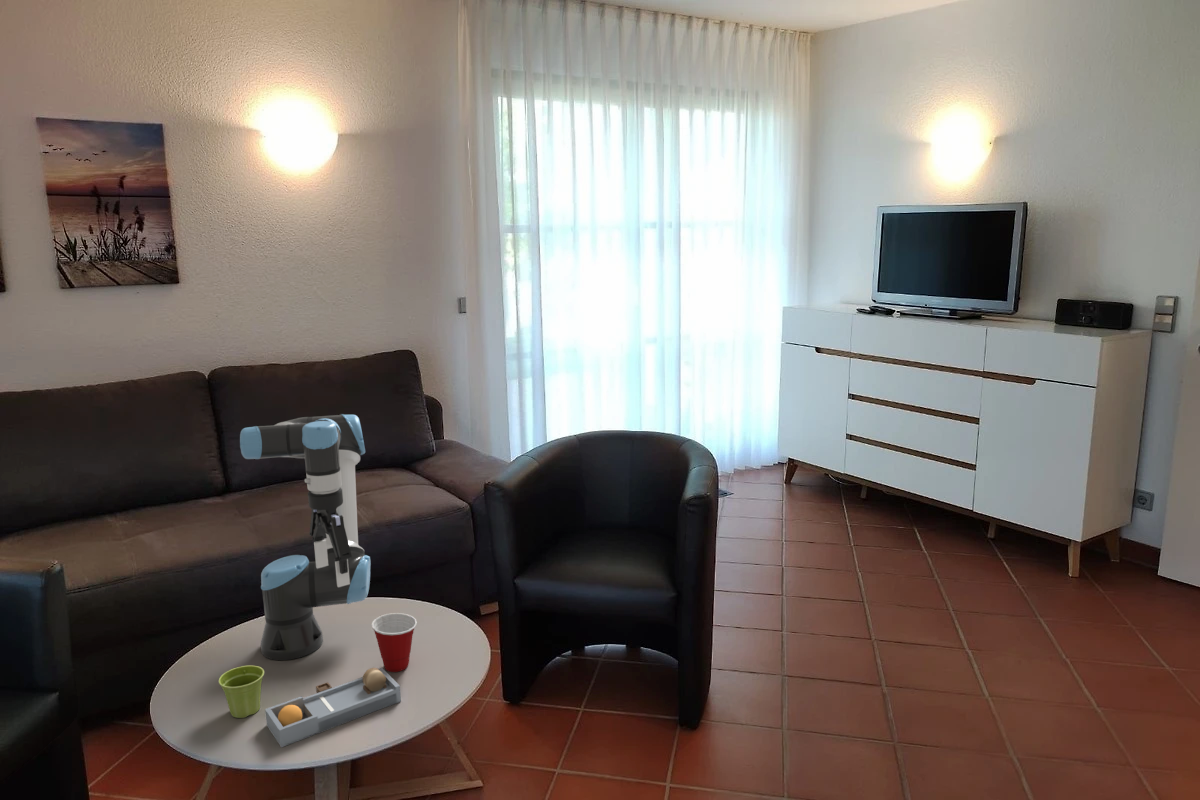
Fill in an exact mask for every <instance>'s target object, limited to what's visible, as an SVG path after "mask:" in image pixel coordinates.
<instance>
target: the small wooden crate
mask: <svg viewBox="0 0 1200 800" xmlns="http://www.w3.org/2000/svg"><path fill="white" fill-rule="evenodd" d="M330 688H333V687H332V685H331V684H330V683H329V682H324V683H321V684H319V685H316V686H315V691H316V693H319V692H322V691H325V690H327V689H330ZM316 693H315V694H316Z"/></svg>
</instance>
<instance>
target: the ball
mask: <svg viewBox="0 0 1200 800" xmlns="http://www.w3.org/2000/svg"><path fill="white" fill-rule="evenodd" d="M278 720H279V722H280V723H281V725H282V726H283V727H284V726H287V725H290V724H292V723H295V722H298V721H300V720H302V711H301V709H300V708H299V707H298V706H296V705H287V706H285V707H284V708H282V709H281V711H280V712H279V714H278Z"/></svg>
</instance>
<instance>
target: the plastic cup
mask: <svg viewBox="0 0 1200 800" xmlns="http://www.w3.org/2000/svg"><path fill="white" fill-rule="evenodd" d="M417 624H418V622H417V618H415V617H414V616H413V615H411V614H407V613H403V612H402V613H401V612H393V613H385V614H382V615H380V616H377V617H376V618H374V619H373V621H372V622H371V627H372V630H373V632H374V635H375V638H376V642H377V645H378V649H379V653H380V657H381V659H382V663H383V667H384V670H385V671H386V672H390V673H398V672H402V671H404V670H406V669H407V668H408V667H409V664H410V656H411V655H410V654H411V652H412V651H411V650H412V643H413V642H412V641H413V634H414V631H415V627H416V626H417Z"/></svg>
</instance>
